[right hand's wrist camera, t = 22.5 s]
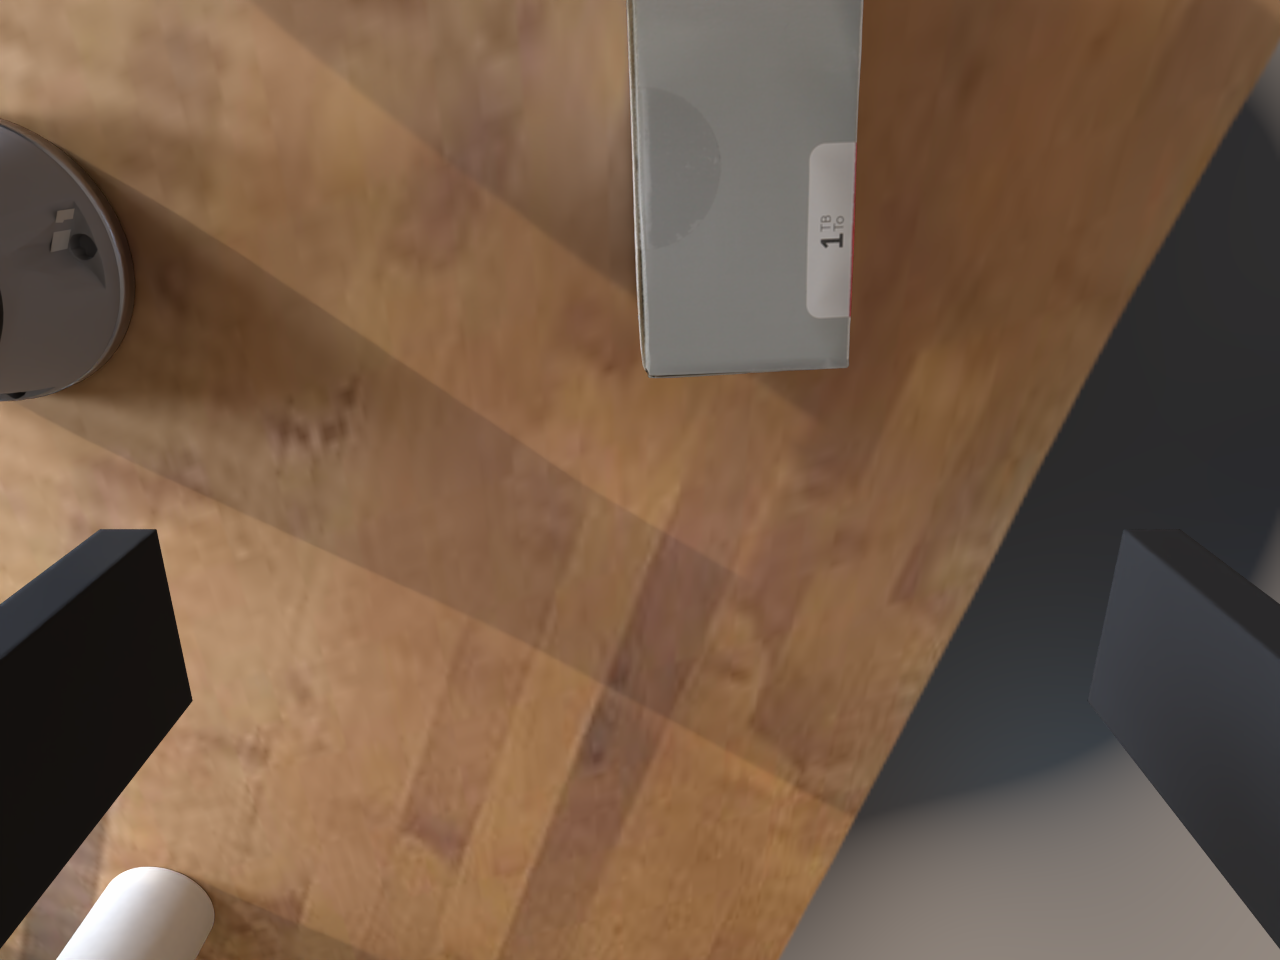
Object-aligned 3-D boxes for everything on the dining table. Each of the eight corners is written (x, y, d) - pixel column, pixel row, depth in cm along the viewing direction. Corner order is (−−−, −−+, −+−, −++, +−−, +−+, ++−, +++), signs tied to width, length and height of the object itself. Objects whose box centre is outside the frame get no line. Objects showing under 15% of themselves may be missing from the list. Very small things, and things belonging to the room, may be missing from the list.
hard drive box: (773, 287, 51) (849, 380, 33) (636, 292, 51) (635, 388, 33) (778, -27, 46) (873, -131, 27) (624, -21, 46) (614, -120, 27)
